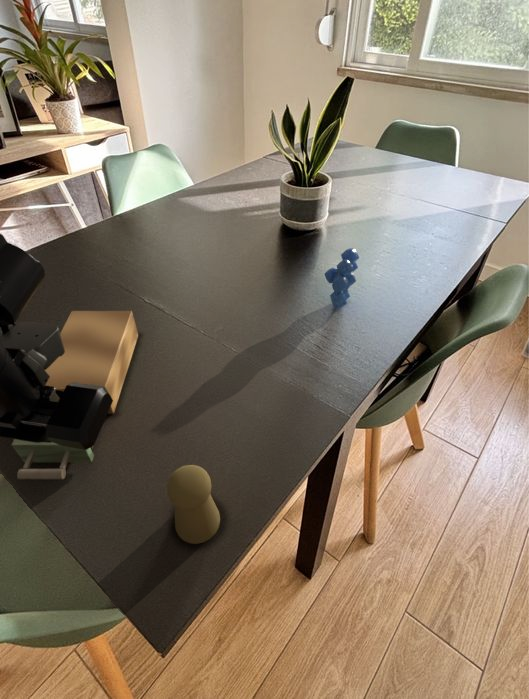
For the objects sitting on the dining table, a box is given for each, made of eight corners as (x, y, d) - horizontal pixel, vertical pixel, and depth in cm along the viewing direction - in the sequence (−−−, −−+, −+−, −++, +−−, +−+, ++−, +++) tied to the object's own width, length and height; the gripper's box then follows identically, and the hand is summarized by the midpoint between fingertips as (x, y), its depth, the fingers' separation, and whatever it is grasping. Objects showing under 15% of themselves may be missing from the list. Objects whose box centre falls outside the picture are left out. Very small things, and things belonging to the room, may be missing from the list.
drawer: (83, 489, 60) (73, 472, 56) (11, 489, 60) (-3, 472, 56) (121, 371, 76) (115, 353, 72) (65, 371, 76) (56, 352, 72)
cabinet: (113, 413, 70) (104, 389, 66) (45, 413, 70) (31, 389, 66) (138, 335, 84) (131, 310, 79) (81, 335, 84) (71, 310, 79)
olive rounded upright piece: (201, 553, 54) (191, 514, 47) (165, 528, 56) (150, 487, 49) (229, 513, 58) (223, 471, 50) (194, 491, 60) (183, 448, 52)
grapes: (329, 282, 97) (335, 234, 89) (358, 289, 95) (367, 240, 87) (313, 312, 89) (319, 262, 81) (345, 320, 87) (353, 270, 79)
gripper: (107, 309, 41) (148, 390, 54) (-65, 288, 43) (13, 371, 56) (55, 411, 35) (115, 476, 47) (-144, 381, 37) (-36, 450, 50)
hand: (50, 438), depth 50 cm, fingers closed
